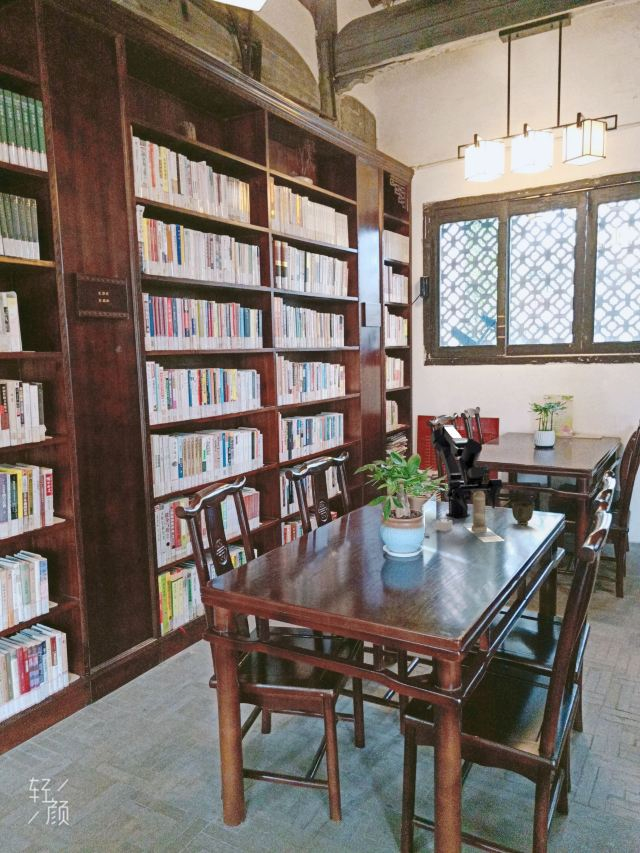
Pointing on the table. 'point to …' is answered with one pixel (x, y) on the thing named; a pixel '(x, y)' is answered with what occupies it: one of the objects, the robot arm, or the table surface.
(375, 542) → the table surface
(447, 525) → the die
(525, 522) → the cup
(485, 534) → the board
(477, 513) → the round-topped post
